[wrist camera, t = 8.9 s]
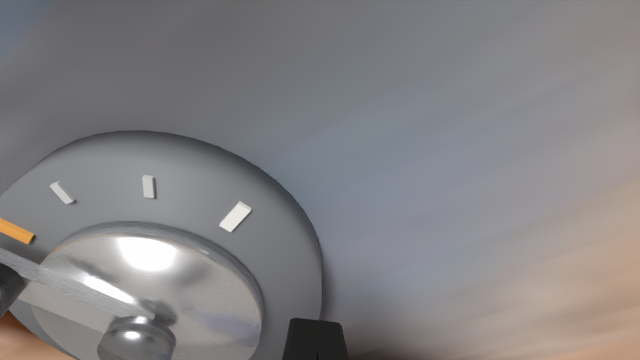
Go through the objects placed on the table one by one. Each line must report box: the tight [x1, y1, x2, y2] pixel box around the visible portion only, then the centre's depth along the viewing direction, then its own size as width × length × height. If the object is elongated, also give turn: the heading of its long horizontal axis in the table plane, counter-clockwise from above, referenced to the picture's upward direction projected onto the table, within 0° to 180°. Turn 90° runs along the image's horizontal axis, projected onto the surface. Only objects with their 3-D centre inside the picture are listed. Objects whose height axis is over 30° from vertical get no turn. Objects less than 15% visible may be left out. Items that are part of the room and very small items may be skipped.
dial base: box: [0, 131, 322, 360], centre depth 22 cm, size 17×17×3 cm
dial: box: [0, 221, 264, 360], centre depth 18 cm, size 14×11×6 cm
